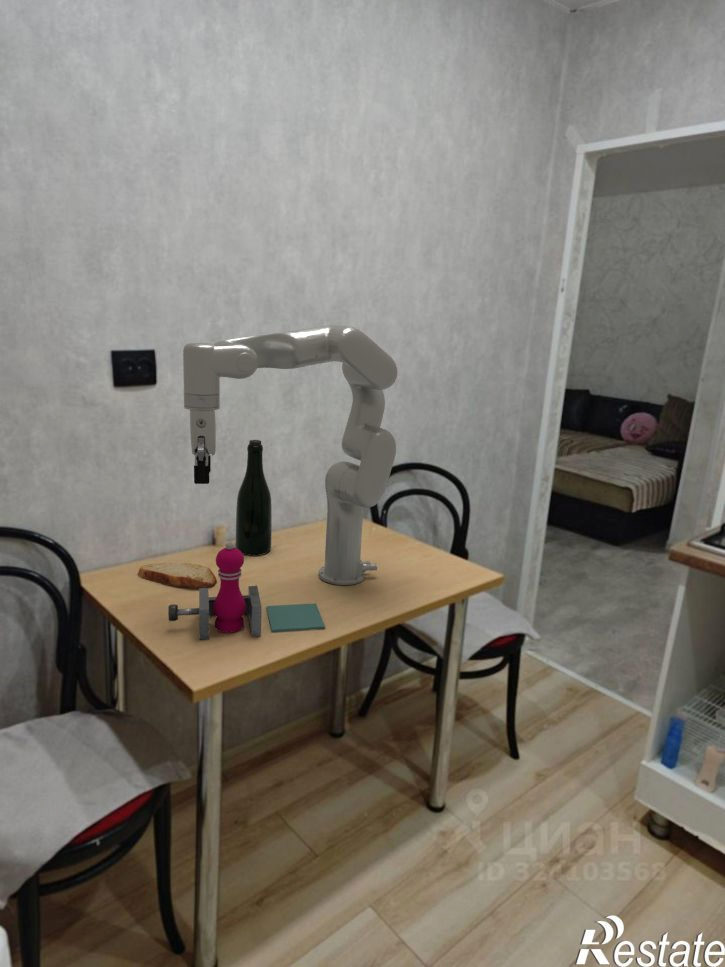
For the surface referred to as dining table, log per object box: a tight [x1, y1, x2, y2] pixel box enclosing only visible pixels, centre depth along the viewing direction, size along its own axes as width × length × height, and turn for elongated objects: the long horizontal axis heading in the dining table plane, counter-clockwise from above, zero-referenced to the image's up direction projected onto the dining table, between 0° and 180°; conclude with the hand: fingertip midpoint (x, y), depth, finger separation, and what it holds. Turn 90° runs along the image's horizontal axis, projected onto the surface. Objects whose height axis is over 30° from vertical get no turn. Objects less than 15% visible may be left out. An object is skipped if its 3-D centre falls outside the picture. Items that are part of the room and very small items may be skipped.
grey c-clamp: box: [167, 585, 262, 641], centre depth 143 cm, size 20×13×7 cm, turn 104°
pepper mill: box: [213, 541, 246, 634], centre depth 141 cm, size 7×7×20 cm
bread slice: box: [136, 562, 218, 590], centre depth 167 cm, size 18×18×4 cm
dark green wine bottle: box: [234, 439, 273, 556], centre depth 186 cm, size 10×10×33 cm
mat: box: [265, 603, 326, 633], centre depth 149 cm, size 12×12×1 cm
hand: (202, 477), depth 144 cm, fingers open, 9 cm apart
